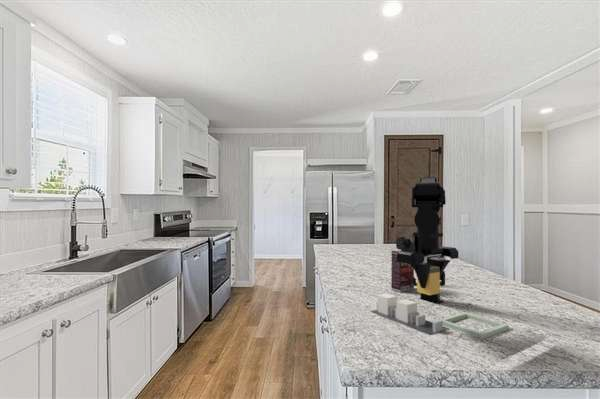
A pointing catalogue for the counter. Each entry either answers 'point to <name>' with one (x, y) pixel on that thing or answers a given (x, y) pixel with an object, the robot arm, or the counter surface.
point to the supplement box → (401, 275)
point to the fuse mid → (405, 309)
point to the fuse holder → (415, 321)
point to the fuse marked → (431, 282)
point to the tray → (483, 334)
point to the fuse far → (386, 303)
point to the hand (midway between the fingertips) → (428, 286)
